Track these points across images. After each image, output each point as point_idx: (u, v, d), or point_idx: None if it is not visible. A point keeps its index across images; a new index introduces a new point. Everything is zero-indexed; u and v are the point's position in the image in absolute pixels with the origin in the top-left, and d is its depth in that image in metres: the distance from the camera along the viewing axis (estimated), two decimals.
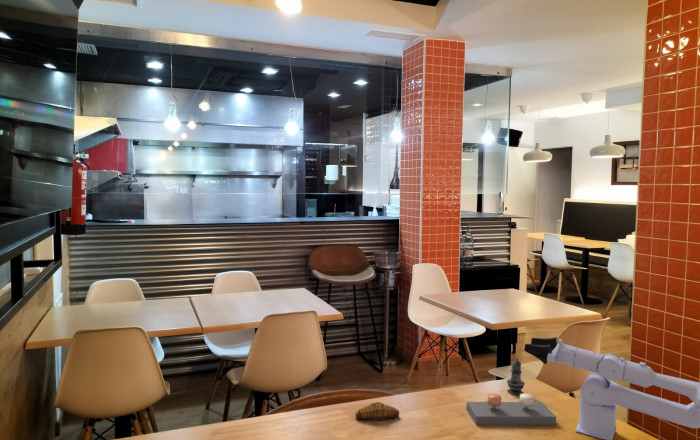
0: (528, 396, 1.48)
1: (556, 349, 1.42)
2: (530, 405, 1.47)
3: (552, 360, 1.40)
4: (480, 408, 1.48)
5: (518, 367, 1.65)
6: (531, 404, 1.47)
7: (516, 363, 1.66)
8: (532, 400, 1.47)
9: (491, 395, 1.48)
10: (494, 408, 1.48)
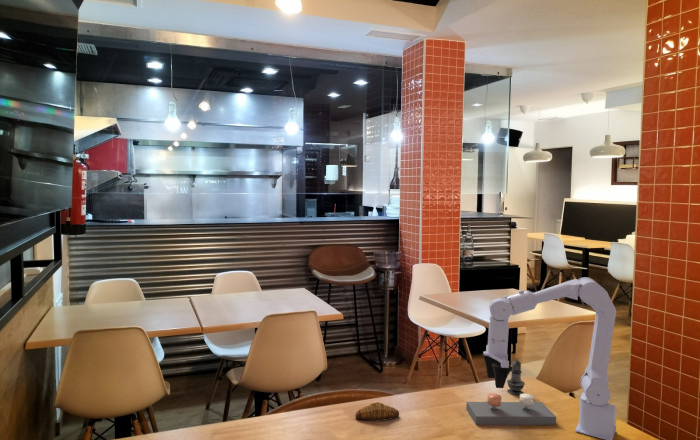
0: (528, 396, 1.48)
1: (495, 358, 1.44)
2: (530, 405, 1.47)
3: (507, 362, 1.40)
4: (480, 408, 1.48)
5: (518, 367, 1.65)
6: (531, 404, 1.47)
7: (516, 363, 1.66)
8: (532, 400, 1.47)
9: (491, 395, 1.48)
10: (494, 408, 1.48)
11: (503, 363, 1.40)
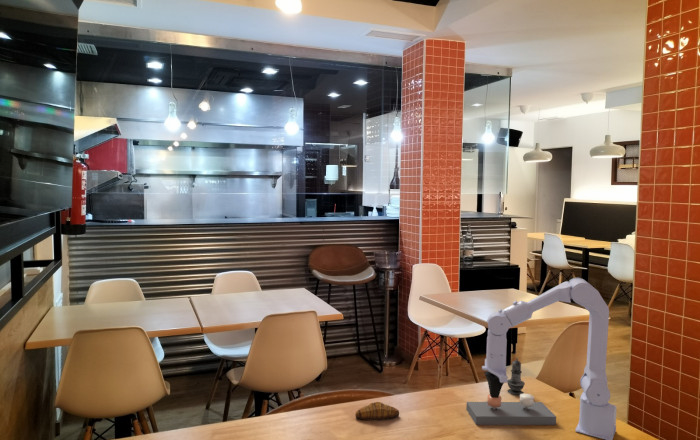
0: (528, 396, 1.48)
1: (493, 372, 1.44)
2: (530, 405, 1.47)
3: (505, 377, 1.40)
4: (480, 408, 1.48)
5: (518, 367, 1.65)
6: (531, 404, 1.47)
7: (516, 363, 1.66)
8: (532, 400, 1.47)
9: None
10: (494, 409, 1.48)
11: (502, 378, 1.40)
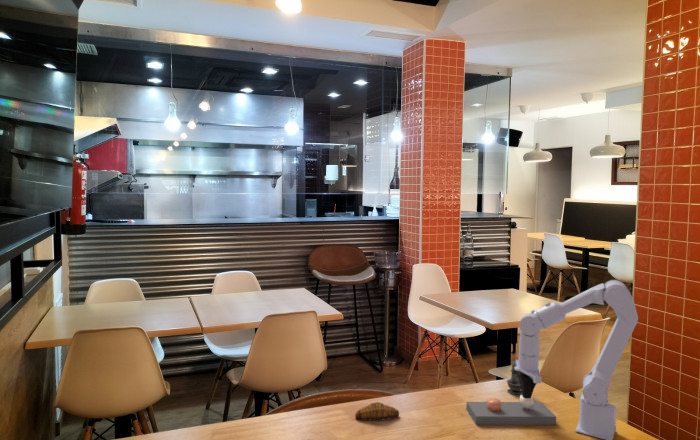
0: None
1: (526, 373, 1.44)
2: (530, 406, 1.47)
3: (539, 378, 1.41)
4: (480, 408, 1.48)
5: None
6: (531, 405, 1.47)
7: None
8: (532, 401, 1.47)
9: (491, 400, 1.49)
10: None
11: (536, 379, 1.41)
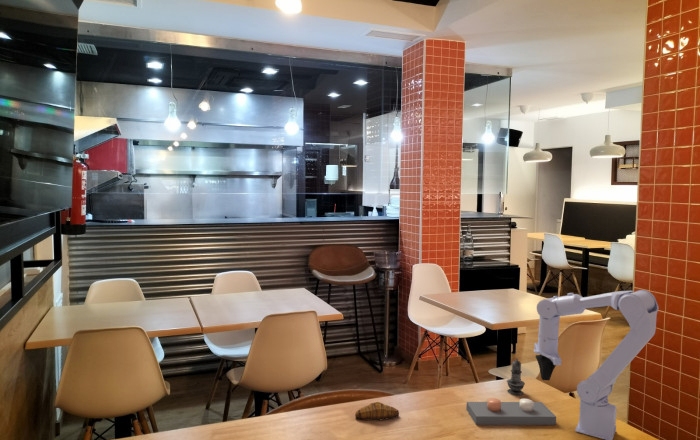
0: (528, 401, 1.49)
1: (546, 355, 1.48)
2: (530, 410, 1.47)
3: (559, 360, 1.44)
4: (480, 408, 1.48)
5: (518, 367, 1.65)
6: (531, 409, 1.47)
7: (516, 363, 1.66)
8: (532, 405, 1.47)
9: (491, 400, 1.49)
10: None
11: (556, 361, 1.44)
